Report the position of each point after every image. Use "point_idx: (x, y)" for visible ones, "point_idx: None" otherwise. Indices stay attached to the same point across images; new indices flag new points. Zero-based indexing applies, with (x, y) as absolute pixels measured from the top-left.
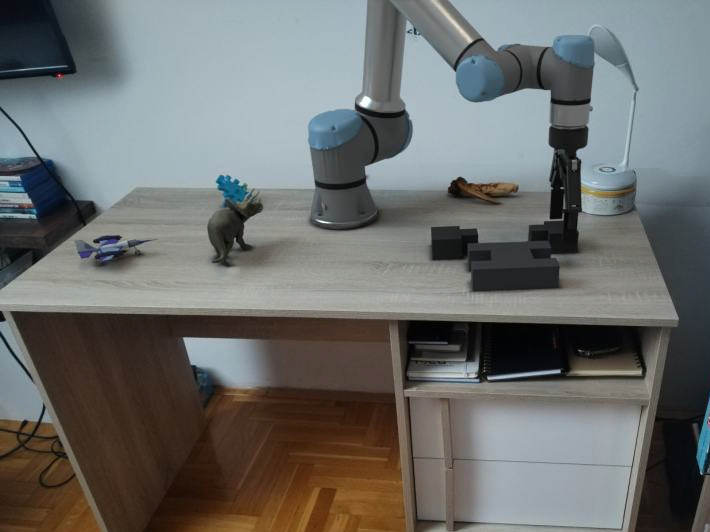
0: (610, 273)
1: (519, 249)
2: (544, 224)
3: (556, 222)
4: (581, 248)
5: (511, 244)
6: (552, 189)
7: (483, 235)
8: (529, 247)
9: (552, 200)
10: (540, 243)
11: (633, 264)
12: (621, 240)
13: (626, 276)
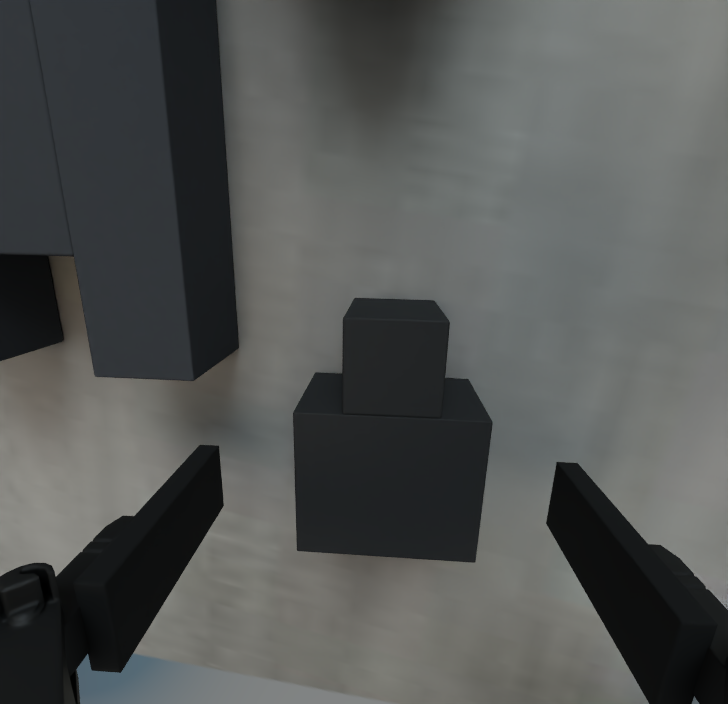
0: None
1: (53, 188)
2: (436, 413)
3: (456, 482)
4: None
5: (126, 146)
6: (700, 632)
7: (614, 58)
8: (89, 256)
9: (620, 554)
10: (150, 331)
11: (205, 625)
12: (415, 654)
13: None
